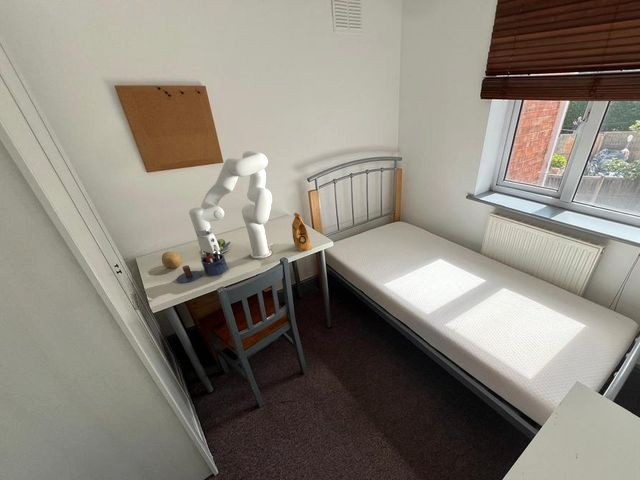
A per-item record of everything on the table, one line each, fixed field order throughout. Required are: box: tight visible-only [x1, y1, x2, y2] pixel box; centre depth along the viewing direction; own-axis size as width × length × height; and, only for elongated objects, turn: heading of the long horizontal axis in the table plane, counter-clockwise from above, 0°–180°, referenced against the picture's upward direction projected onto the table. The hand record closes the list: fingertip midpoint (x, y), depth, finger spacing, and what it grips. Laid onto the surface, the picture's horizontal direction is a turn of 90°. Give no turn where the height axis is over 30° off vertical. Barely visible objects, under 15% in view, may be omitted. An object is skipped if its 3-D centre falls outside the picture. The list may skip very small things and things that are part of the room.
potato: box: [161, 251, 183, 269], centre depth 168 cm, size 10×14×8 cm
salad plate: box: [201, 238, 232, 256], centre depth 186 cm, size 19×18×5 cm
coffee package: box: [291, 212, 311, 252], centre depth 184 cm, size 10×12×22 cm
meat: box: [205, 254, 220, 263], centre depth 160 cm, size 6×4×4 cm
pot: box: [200, 254, 228, 277], centre depth 162 cm, size 11×17×8 cm
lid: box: [176, 265, 203, 284], centre depth 157 cm, size 12×12×7 cm
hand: (213, 262), depth 161 cm, fingers closed on meat, 4 cm apart
